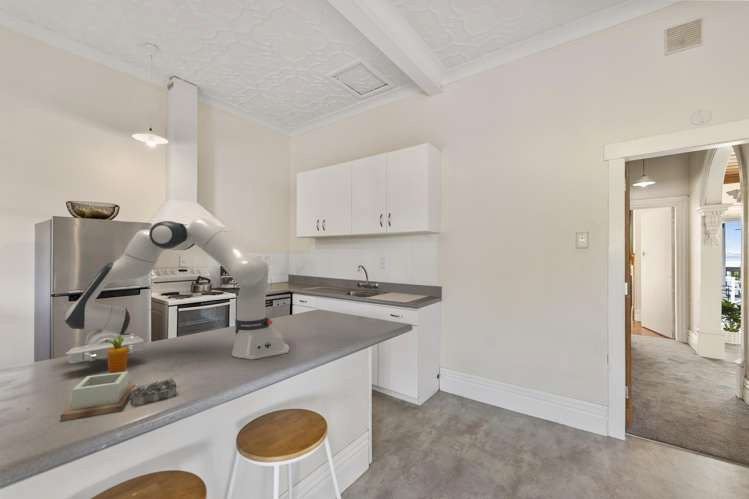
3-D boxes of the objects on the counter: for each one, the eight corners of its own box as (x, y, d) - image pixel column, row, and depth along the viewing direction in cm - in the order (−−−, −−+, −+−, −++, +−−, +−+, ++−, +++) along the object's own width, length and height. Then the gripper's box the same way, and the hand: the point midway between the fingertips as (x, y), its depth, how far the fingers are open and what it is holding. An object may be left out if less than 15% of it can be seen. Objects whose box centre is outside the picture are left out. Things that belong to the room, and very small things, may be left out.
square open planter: (127, 388, 92) (128, 371, 92) (118, 402, 84) (118, 383, 84) (86, 394, 88) (86, 376, 88) (71, 409, 80) (72, 389, 80)
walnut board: (135, 389, 95) (135, 384, 95) (121, 411, 82) (122, 405, 82) (83, 397, 89) (83, 391, 90) (60, 421, 77) (60, 415, 77)
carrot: (115, 388, 95) (116, 338, 96) (102, 386, 96) (103, 337, 97) (131, 381, 100) (132, 334, 100) (118, 380, 101) (119, 333, 101)
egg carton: (131, 409, 84) (131, 393, 84) (129, 398, 90) (129, 384, 90) (177, 397, 91) (178, 383, 91) (173, 388, 97) (174, 374, 97)
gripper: (65, 343, 107) (68, 352, 98) (138, 332, 122) (148, 339, 113) (64, 361, 107) (68, 372, 98) (138, 348, 122) (147, 356, 113)
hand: (111, 354), depth 106 cm, fingers open, 8 cm apart
